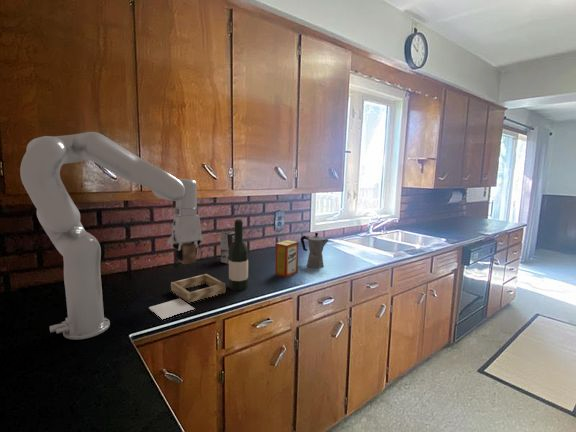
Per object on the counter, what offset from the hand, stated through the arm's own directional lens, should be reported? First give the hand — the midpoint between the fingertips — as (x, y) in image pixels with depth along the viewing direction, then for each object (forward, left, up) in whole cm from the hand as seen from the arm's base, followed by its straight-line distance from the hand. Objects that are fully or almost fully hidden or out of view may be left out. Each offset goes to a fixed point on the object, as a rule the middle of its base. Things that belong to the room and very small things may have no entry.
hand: (186, 257), depth 124 cm
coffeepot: (+70, -4, -17) cm, 72 cm away
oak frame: (+6, +3, -17) cm, 18 cm away
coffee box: (+40, +30, -17) cm, 53 cm away
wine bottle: (+22, -3, -17) cm, 28 cm away
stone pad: (-9, -5, -17) cm, 19 cm away
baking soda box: (+50, -4, -17) cm, 53 cm away
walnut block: (0, 0, -2) cm, 2 cm away
